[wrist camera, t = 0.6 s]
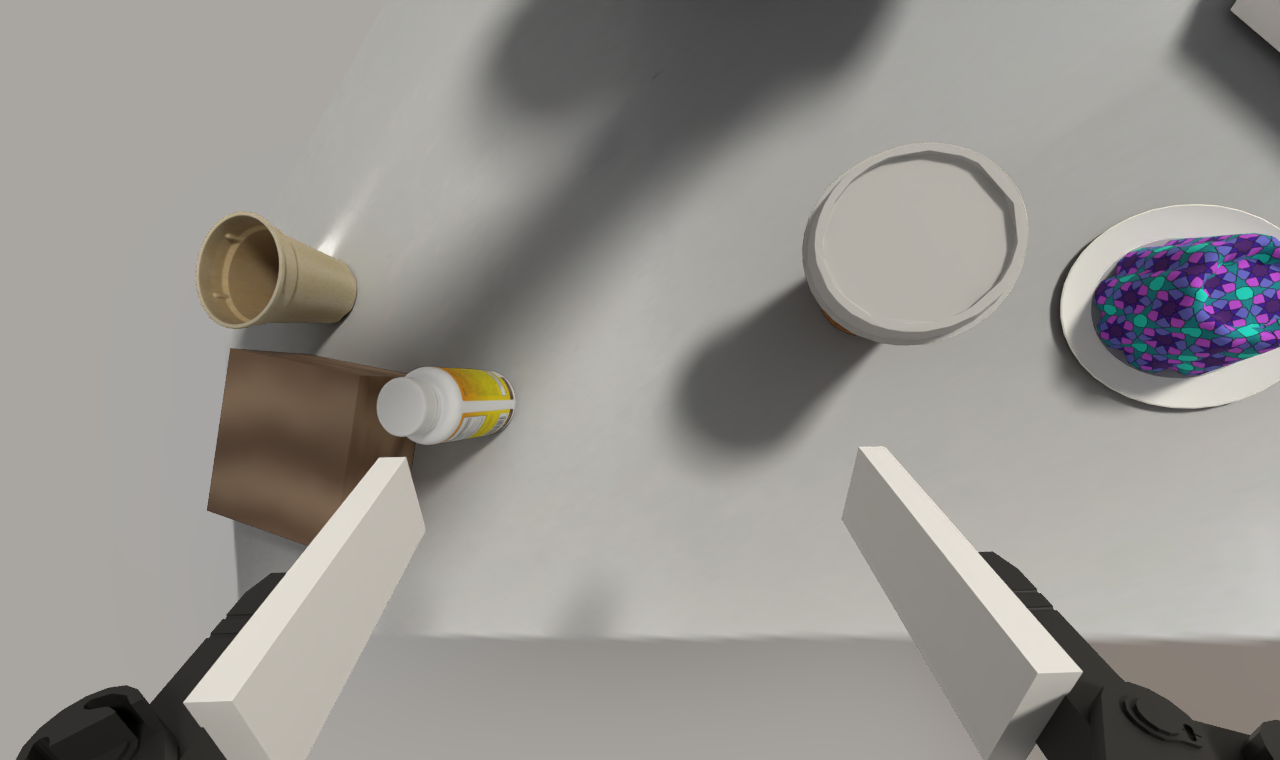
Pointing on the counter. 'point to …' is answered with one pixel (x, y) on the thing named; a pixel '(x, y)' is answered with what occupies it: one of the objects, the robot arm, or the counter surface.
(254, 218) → the flower pot
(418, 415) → the supplement bottle
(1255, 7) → the white rectangular box
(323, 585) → the robot arm
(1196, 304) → the pudding
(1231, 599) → the counter surface
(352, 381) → the block
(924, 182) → the disposable coffee cup
